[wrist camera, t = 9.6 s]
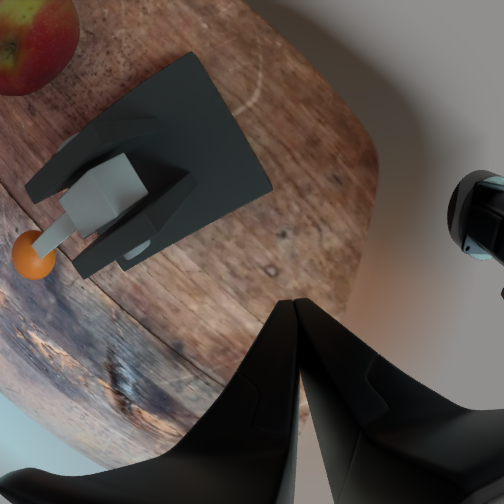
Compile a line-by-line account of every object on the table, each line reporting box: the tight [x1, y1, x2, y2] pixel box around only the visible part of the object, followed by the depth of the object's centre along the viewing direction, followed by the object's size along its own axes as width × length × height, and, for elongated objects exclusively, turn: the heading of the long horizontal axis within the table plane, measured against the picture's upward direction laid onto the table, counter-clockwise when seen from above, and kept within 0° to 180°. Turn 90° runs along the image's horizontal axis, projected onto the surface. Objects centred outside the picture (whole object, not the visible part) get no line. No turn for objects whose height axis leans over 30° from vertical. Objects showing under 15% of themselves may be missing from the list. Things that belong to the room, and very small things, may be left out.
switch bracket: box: [24, 52, 273, 279], centre depth 16 cm, size 12×10×10 cm
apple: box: [0, 0, 80, 96], centre depth 13 cm, size 8×8×8 cm
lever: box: [12, 153, 148, 280], centre depth 15 cm, size 12×3×3 cm, turn 119°
